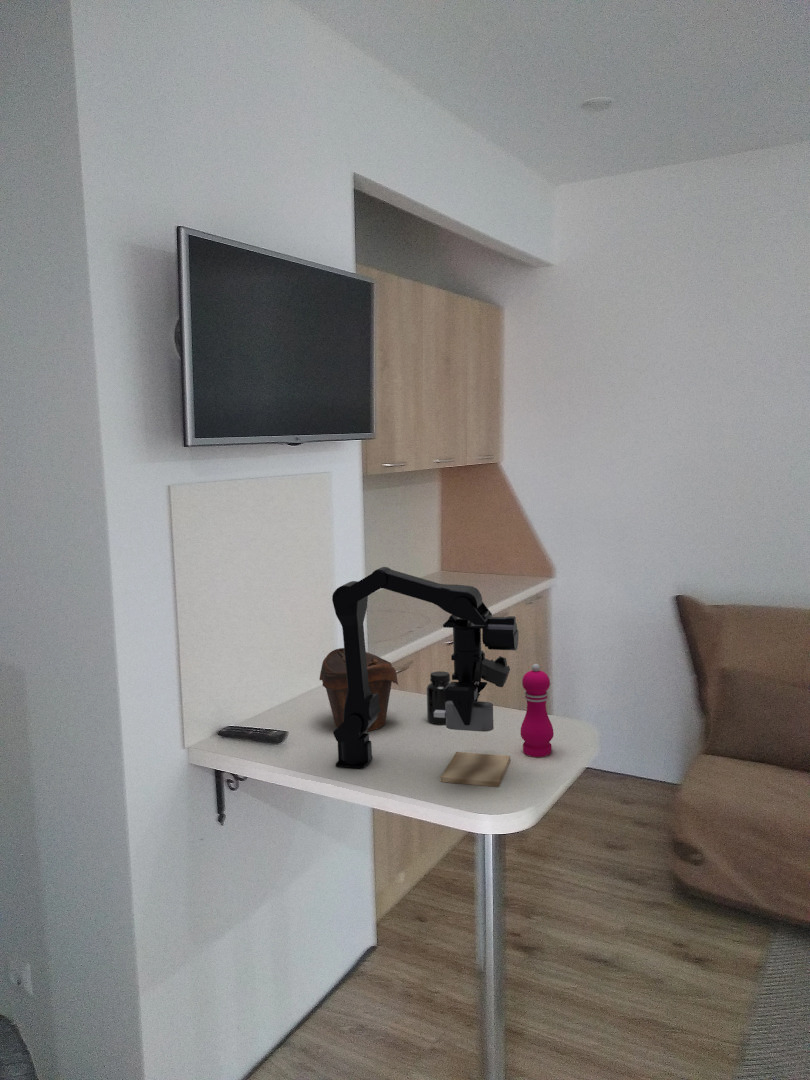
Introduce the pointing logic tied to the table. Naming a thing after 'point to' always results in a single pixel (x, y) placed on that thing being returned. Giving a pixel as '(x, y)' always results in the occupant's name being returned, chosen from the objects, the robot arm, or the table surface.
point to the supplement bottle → (437, 695)
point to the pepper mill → (536, 714)
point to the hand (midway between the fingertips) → (469, 721)
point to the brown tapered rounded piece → (337, 687)
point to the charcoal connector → (479, 717)
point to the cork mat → (476, 769)
